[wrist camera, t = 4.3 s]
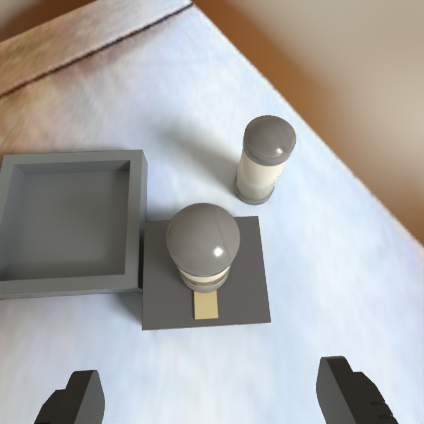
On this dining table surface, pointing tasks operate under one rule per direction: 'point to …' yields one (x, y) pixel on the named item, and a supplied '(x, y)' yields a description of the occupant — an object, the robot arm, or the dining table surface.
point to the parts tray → (72, 223)
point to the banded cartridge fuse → (203, 245)
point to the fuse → (263, 158)
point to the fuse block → (203, 302)
